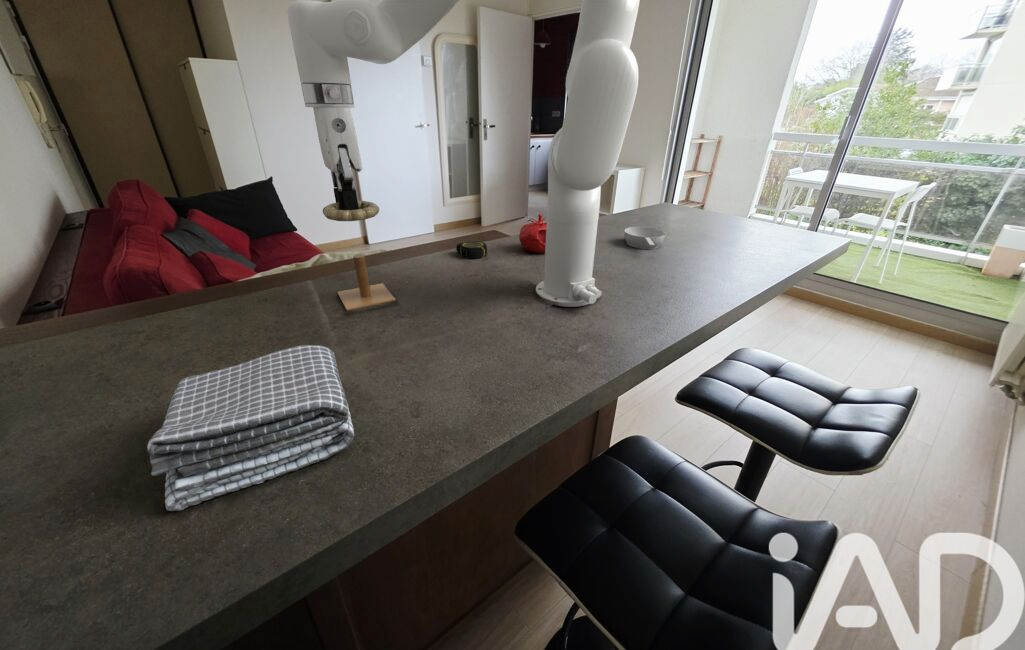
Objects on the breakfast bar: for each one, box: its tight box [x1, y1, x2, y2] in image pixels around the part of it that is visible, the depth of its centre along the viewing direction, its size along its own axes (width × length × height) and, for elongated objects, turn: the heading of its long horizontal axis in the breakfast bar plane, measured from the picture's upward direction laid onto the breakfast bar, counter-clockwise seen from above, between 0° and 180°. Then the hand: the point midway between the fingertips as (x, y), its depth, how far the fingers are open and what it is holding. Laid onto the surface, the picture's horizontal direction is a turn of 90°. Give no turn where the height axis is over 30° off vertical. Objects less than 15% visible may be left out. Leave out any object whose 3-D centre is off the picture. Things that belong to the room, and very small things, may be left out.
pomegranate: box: [518, 213, 547, 254], centre depth 108 cm, size 10×10×9 cm
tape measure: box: [455, 240, 488, 260], centre depth 103 cm, size 7×7×4 cm
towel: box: [146, 344, 355, 512], centre depth 46 cm, size 15×18×8 cm
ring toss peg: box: [337, 253, 396, 312], centre depth 79 cm, size 9×9×9 cm
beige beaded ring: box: [322, 200, 380, 222], centre depth 73 cm, size 9×9×2 cm
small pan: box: [623, 226, 666, 250], centre depth 111 cm, size 11×18×4 cm, turn 172°
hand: (348, 210), depth 76 cm, fingers closed on beige beaded ring, 2 cm apart
